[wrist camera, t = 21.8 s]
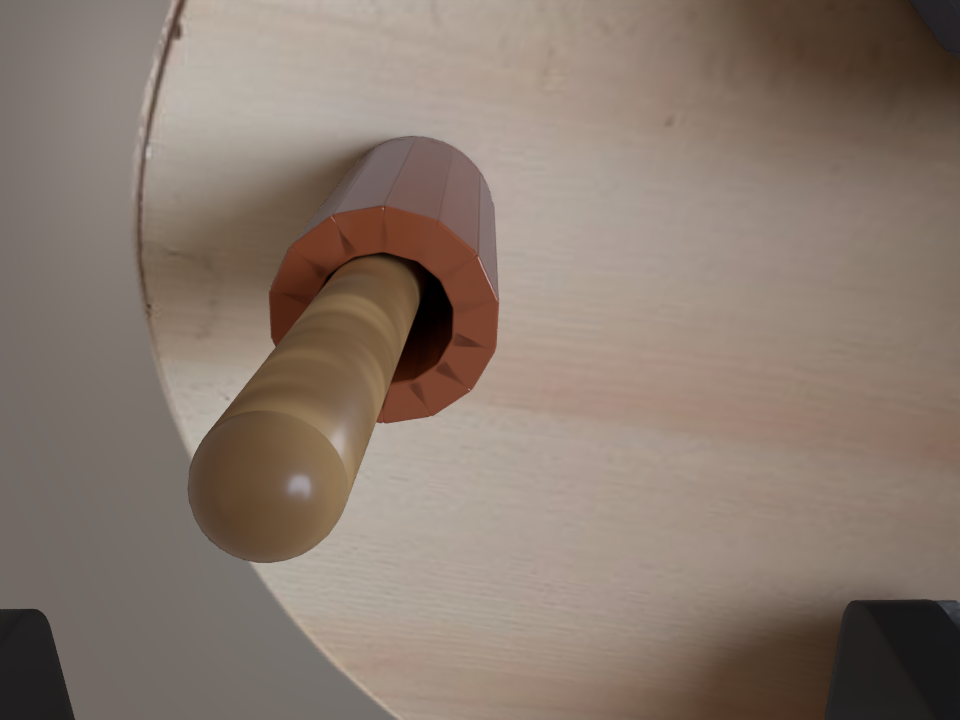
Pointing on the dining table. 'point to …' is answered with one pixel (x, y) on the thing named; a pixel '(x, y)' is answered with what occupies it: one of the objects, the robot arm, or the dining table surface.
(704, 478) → the dining table surface
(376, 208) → the crock
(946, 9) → the bowl
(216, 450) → the stick
